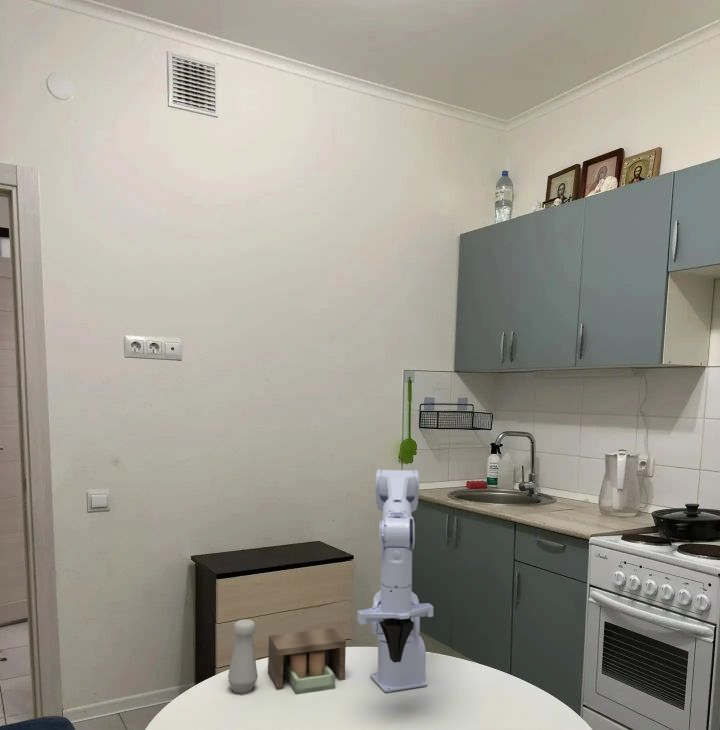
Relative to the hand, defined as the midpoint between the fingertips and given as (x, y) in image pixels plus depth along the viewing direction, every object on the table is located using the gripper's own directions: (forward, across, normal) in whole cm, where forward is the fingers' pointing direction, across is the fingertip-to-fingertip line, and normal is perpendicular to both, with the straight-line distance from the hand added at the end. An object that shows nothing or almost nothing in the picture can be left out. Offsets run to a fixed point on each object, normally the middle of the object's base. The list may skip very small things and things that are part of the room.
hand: (395, 660), depth 110 cm
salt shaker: (+10, -24, +20) cm, 33 cm away
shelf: (+10, -10, +22) cm, 26 cm away
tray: (+10, -11, +19) cm, 24 cm away
